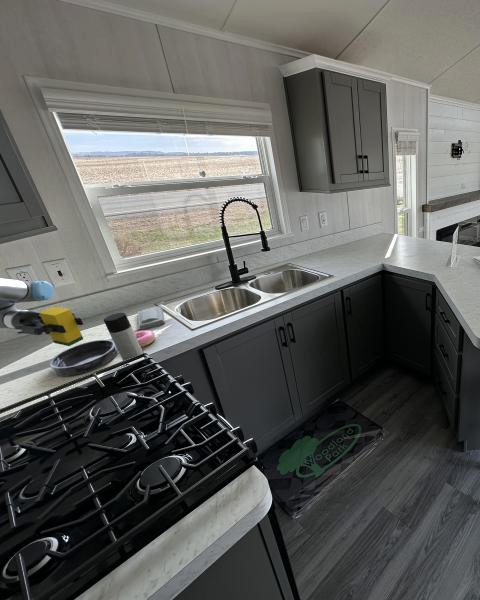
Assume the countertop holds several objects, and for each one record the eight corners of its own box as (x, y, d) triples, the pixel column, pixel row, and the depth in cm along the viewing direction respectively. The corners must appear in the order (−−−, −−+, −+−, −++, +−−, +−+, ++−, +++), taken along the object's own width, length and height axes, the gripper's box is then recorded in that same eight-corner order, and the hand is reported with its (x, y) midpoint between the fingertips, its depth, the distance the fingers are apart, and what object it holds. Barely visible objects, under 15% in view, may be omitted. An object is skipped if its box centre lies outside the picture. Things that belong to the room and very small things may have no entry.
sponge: (54, 343, 121) (38, 312, 116) (69, 336, 126) (54, 306, 120) (69, 346, 120) (54, 315, 114) (83, 339, 125) (70, 309, 119)
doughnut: (118, 350, 136) (114, 341, 134) (138, 336, 146) (135, 328, 144) (143, 350, 135) (140, 341, 133) (162, 336, 145) (159, 328, 143)
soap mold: (162, 308, 170) (160, 302, 169) (165, 323, 156) (162, 316, 154) (138, 314, 165) (135, 308, 164) (138, 330, 150) (135, 323, 149)
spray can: (149, 356, 131) (130, 312, 122) (134, 367, 125) (113, 321, 116) (135, 355, 132) (115, 311, 123) (120, 365, 126) (97, 320, 117)
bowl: (48, 383, 117) (42, 374, 116) (62, 357, 132) (57, 349, 130) (115, 365, 126) (111, 356, 125) (121, 342, 141) (117, 334, 139)
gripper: (57, 317, 133) (102, 322, 128) (0, 341, 117) (48, 347, 112) (48, 301, 130) (93, 305, 125) (-12, 323, 114) (37, 328, 109)
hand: (72, 325), depth 118 cm, fingers closed on sponge, 5 cm apart
